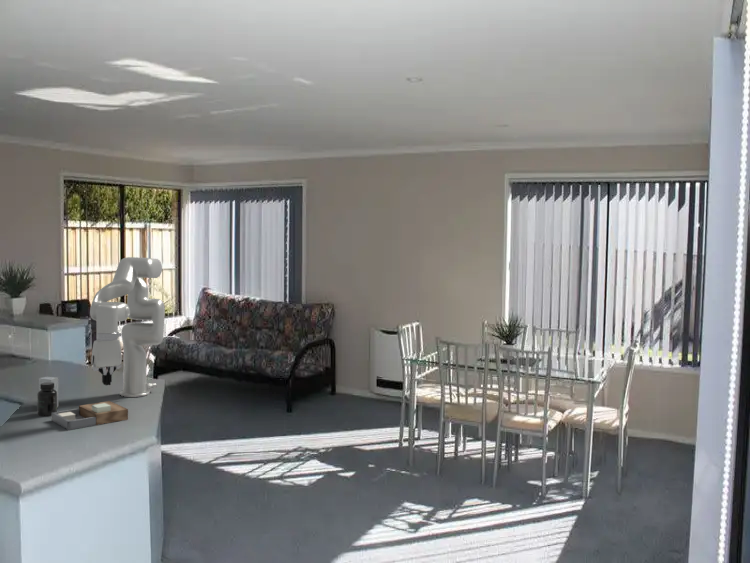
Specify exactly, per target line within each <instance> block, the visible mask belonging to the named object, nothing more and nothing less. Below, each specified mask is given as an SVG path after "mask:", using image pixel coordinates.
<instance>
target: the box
mask: <svg viewBox="0 0 750 563" xmlns="http://www.w3.org/2000/svg"><path fill="white" fill-rule="evenodd" d="M65 412H72V413H74V414H75V420H71V421H70V420H68V419H66V418H64V417H62V416H60V415H59V413H65ZM51 421H52V422H53V423H56V424H57V425H59V426H60V425H61V426H60V427H62V428H64V429H65V428H66V430H67V431H71V430H76V429H83V428H88V427H87V426H89V427H93V425H94V426H97V425H96V417H89V418H84V417H82V416H80V415H79V407H78V408H73V409H67V410H61V411H57V412H52V416H51ZM82 427H83V428H82Z"/></svg>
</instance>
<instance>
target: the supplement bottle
mask: <svg viewBox="0 0 750 563" xmlns="http://www.w3.org/2000/svg"><path fill="white" fill-rule="evenodd" d="M40 389H41V390H40V391H39V390H38V392H37V395H36V396H37V397H36V398H37V400H36V402H37V403H36V405H37V407H36V408H37V409H36V410H37V411H36V412H37V416H39V417H52V412H58V407H57V391H56V390H55V389H54V383H53V382H46V383H41V384H40Z"/></svg>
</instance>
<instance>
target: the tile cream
mask: <svg viewBox="0 0 750 563" xmlns="http://www.w3.org/2000/svg"><path fill="white" fill-rule="evenodd" d="M59 415H60V416H62V417H64V418H66V419H68V420H70V421H71V420H75V414H74V413H72V412H65V413H59Z"/></svg>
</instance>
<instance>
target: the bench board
mask: <svg viewBox="0 0 750 563" xmlns="http://www.w3.org/2000/svg"><path fill="white" fill-rule="evenodd" d="M102 403H106V404H108V405H110V406H111V411H107V412H101V413H96V412H94V411H92V405H96V404H102ZM78 408H79V415H80V416H82V417H84V418H89V417H96V425H95V426H99V425H98V424H100V425H105V424H109V423H117V422H121V421H122V422H123V421H127V420H129V408H126V407H124V406H122V405H120V404H118V403H115V402H112V401H111V400H107V401H101V402H94V403H87V404H82V405H81V404H80V405H79V406H78ZM104 423H105V424H104Z"/></svg>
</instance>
